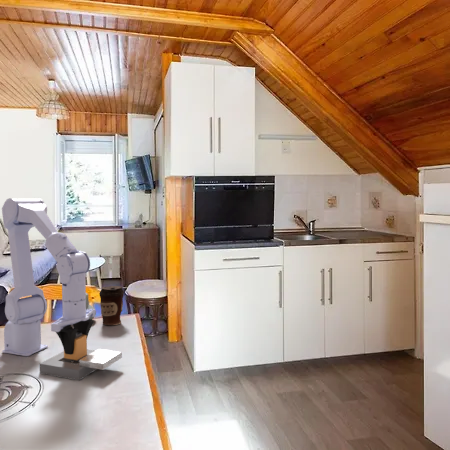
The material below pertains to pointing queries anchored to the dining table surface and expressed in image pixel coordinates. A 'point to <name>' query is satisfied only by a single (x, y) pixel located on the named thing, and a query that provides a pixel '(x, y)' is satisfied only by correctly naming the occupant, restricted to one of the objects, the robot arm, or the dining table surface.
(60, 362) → the socket plate
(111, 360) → the panel
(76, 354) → the plug
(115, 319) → the coffee cup
